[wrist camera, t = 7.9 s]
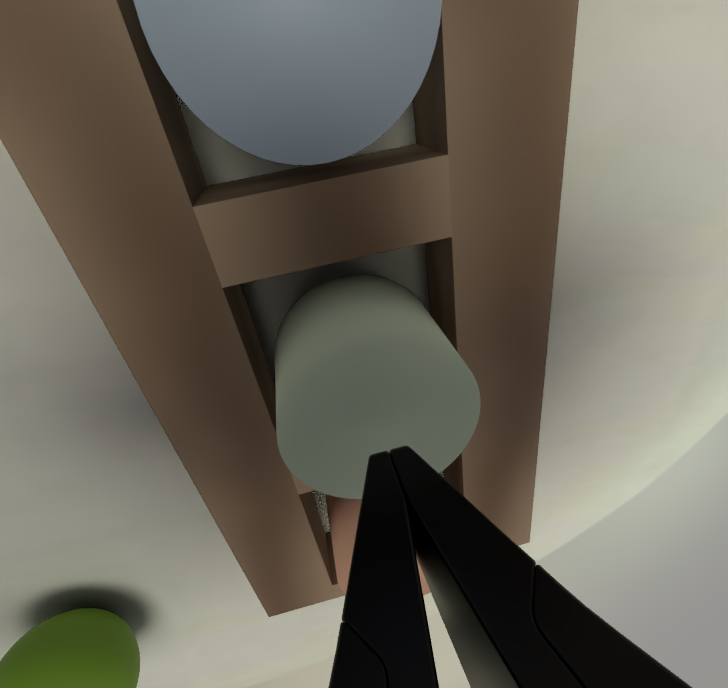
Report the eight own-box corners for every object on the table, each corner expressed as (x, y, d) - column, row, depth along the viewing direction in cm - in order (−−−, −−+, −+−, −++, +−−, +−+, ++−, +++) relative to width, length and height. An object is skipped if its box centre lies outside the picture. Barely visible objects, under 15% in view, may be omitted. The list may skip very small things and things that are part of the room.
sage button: (296, 427, 14) (304, 519, 11) (253, 296, 11) (248, 368, 8) (437, 392, 14) (481, 470, 11) (426, 257, 12) (479, 313, 9)
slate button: (218, 162, 11) (198, 188, 8) (133, -103, 8) (55, -217, 5) (401, 126, 11) (449, 138, 8) (375, -138, 8) (432, -263, 6)
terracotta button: (337, 536, 19) (350, 617, 16) (314, 464, 17) (324, 545, 14) (438, 509, 19) (468, 583, 17) (431, 434, 17) (465, 506, 14)
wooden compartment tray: (269, 562, 20) (268, 617, 18) (-97, -182, 8) (-239, -288, 5) (503, 497, 21) (529, 542, 19) (527, -260, 9) (612, -375, 6)
